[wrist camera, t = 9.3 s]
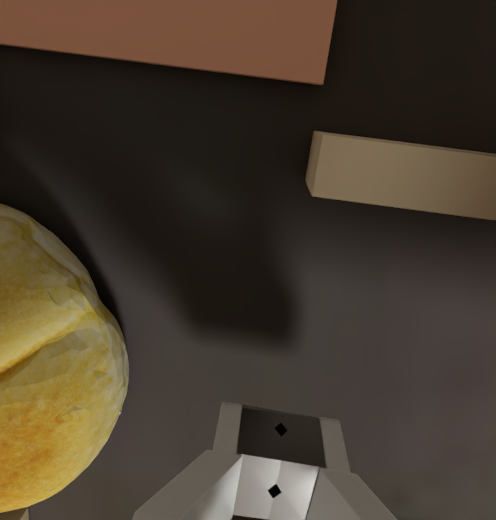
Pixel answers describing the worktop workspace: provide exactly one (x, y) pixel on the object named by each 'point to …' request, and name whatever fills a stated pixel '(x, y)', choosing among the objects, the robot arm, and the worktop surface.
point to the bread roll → (52, 364)
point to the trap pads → (182, 33)
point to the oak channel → (393, 183)
